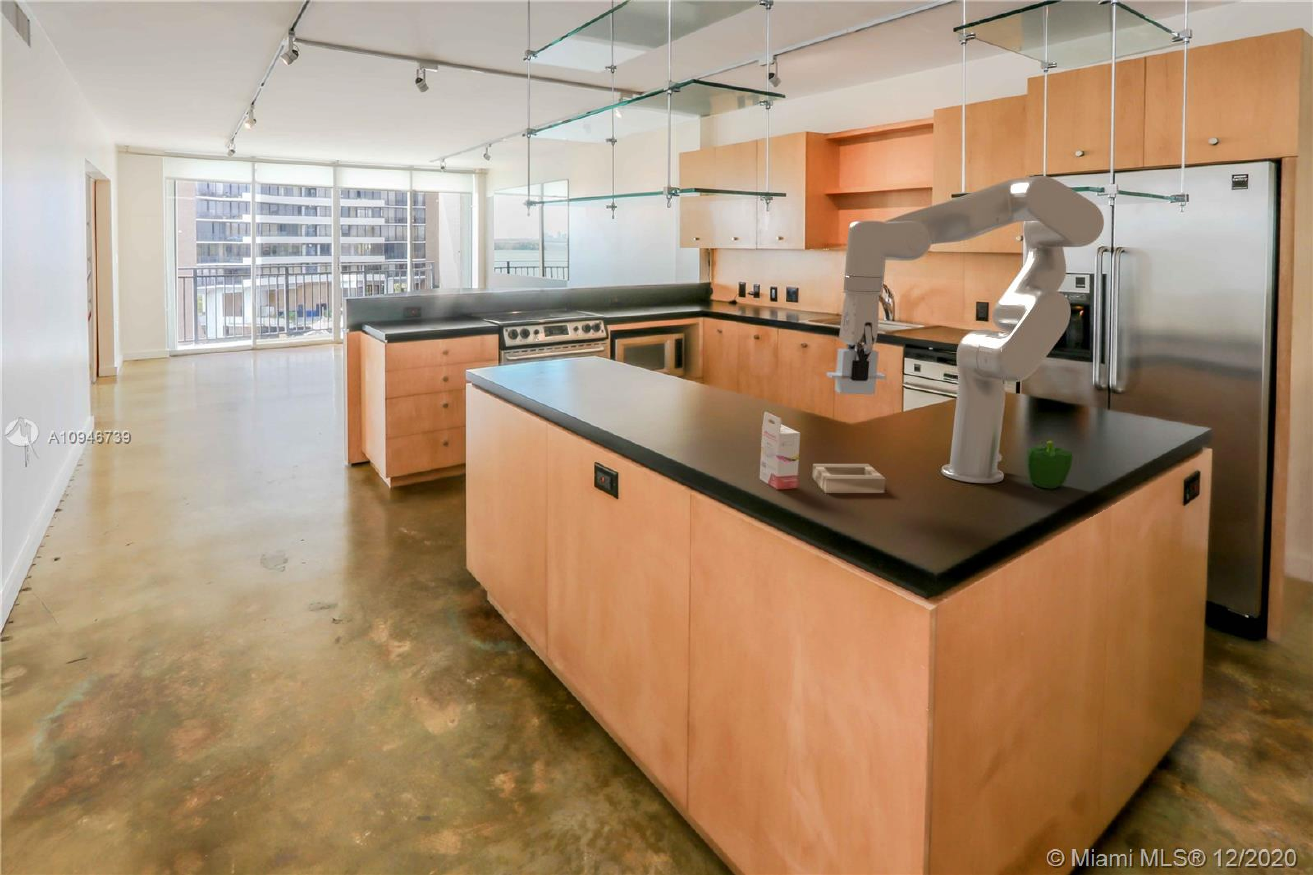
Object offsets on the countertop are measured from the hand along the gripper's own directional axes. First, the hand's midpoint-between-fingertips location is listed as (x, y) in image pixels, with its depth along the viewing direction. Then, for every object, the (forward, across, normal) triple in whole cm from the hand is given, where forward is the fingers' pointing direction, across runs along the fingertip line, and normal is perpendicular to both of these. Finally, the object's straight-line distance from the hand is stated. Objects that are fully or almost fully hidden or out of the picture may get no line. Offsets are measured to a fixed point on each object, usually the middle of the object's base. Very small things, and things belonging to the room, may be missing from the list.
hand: (855, 377), depth 158 cm
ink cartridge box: (+23, -1, -14) cm, 27 cm away
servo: (+3, 0, 0) cm, 3 cm away
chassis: (+22, 0, 0) cm, 22 cm away
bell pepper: (+22, +1, +42) cm, 48 cm away
